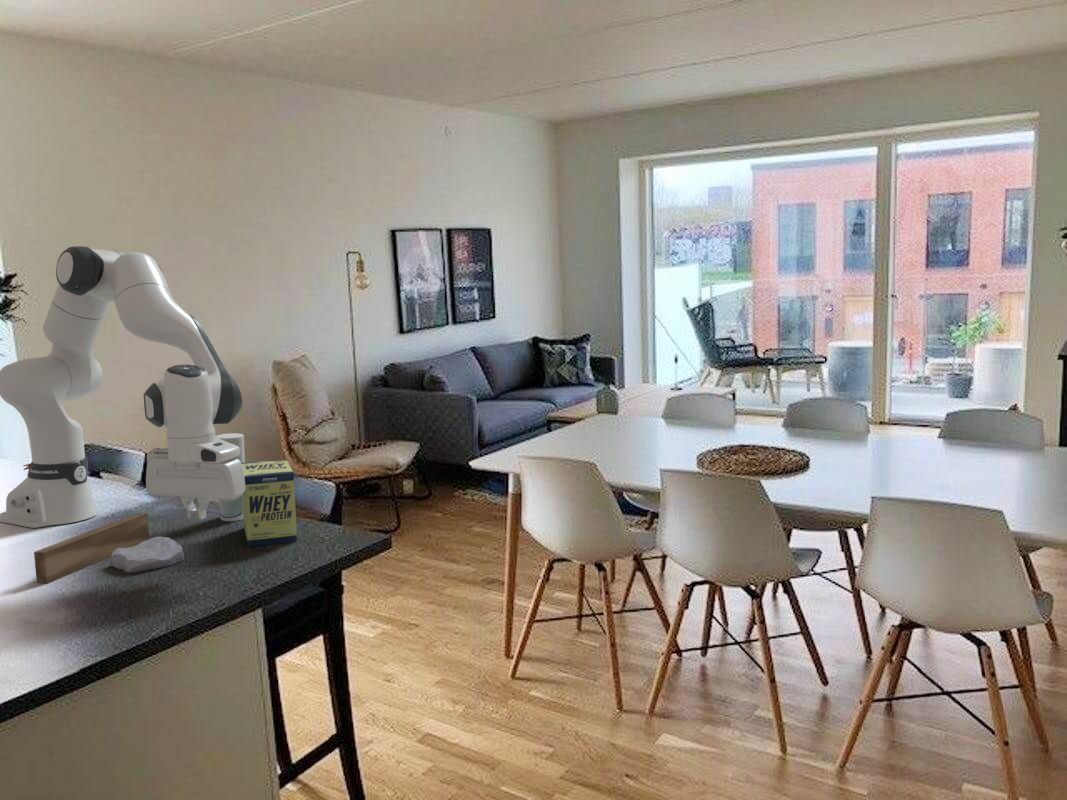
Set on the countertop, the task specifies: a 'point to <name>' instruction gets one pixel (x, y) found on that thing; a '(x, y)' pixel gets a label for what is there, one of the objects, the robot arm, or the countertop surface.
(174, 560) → the stone block
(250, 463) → the protein box
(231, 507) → the spray can
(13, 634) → the countertop surface
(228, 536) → the countertop surface
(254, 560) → the countertop surface
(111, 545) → the walnut board
